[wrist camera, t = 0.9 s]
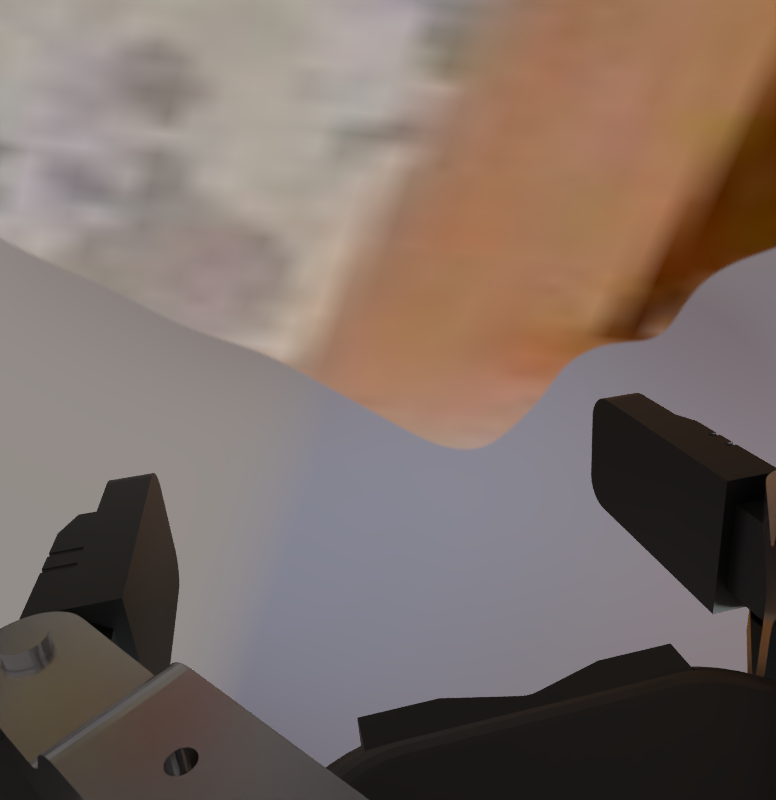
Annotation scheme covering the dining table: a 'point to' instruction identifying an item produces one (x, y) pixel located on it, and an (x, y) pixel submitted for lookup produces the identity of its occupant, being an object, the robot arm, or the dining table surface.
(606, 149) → the dining table surface
